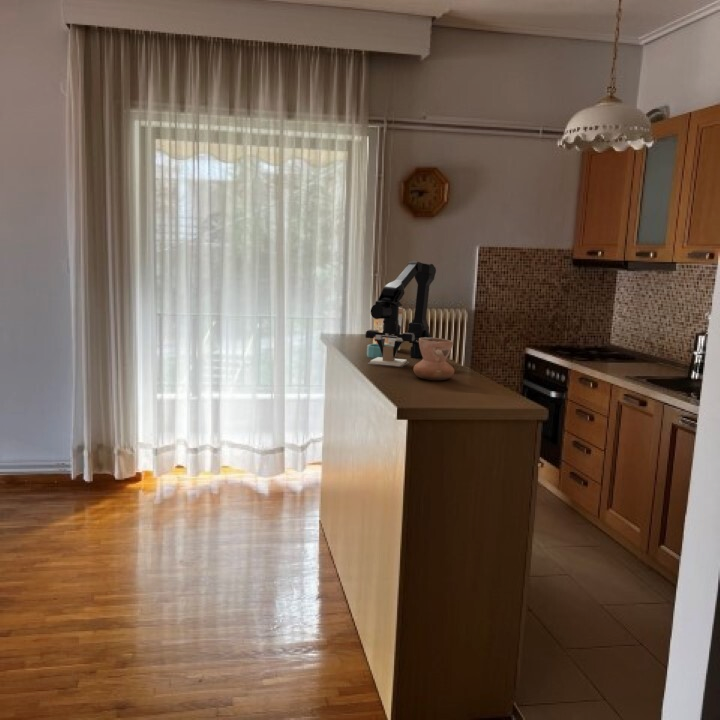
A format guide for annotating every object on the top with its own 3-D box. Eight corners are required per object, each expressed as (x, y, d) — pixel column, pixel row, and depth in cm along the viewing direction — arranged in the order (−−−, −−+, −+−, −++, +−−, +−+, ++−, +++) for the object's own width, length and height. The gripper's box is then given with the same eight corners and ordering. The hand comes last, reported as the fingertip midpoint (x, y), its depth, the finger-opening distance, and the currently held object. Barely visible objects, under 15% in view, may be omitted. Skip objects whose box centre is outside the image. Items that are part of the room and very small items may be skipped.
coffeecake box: (372, 346, 330) (374, 304, 327) (385, 345, 333) (387, 304, 330) (386, 350, 317) (389, 307, 314) (400, 350, 320) (403, 307, 317)
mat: (409, 362, 285) (409, 362, 285) (401, 367, 271) (401, 366, 271) (375, 359, 288) (376, 358, 288) (366, 364, 275) (366, 363, 275)
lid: (406, 362, 284) (407, 346, 283) (399, 366, 272) (400, 349, 271) (377, 359, 287) (378, 343, 286) (369, 363, 276) (370, 346, 275)
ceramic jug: (457, 384, 243) (460, 343, 241) (415, 381, 243) (418, 340, 241) (448, 375, 261) (451, 337, 259) (409, 373, 260) (412, 335, 259)
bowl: (396, 357, 299) (396, 345, 298) (389, 360, 288) (390, 348, 288) (371, 354, 302) (371, 343, 301) (363, 358, 291) (364, 346, 290)
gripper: (418, 318, 282) (416, 356, 285) (373, 314, 287) (371, 352, 290) (412, 320, 272) (410, 360, 274) (366, 316, 277) (364, 356, 279)
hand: (388, 357), depth 279 cm, fingers closed on lid, 4 cm apart
